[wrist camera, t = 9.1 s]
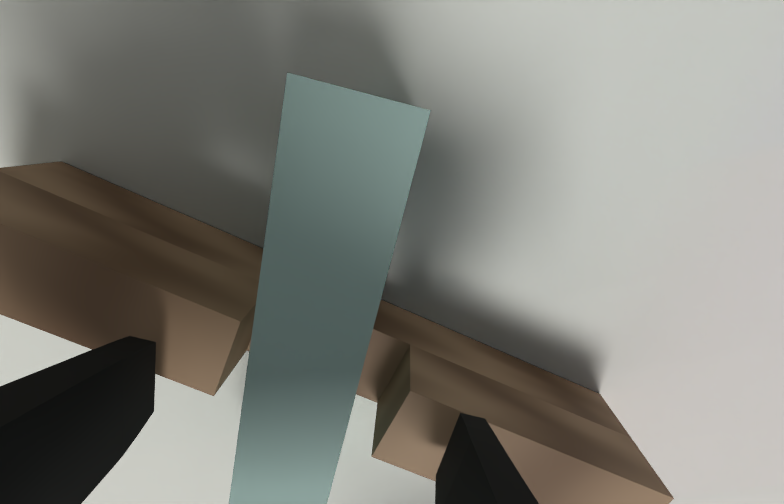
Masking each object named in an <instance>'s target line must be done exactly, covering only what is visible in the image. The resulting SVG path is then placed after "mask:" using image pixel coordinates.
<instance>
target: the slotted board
mask: <svg viewBox="0 0 784 504" xmlns="http://www.w3.org/2000/svg"><path fill="white" fill-rule="evenodd" d="M262 255H263V248H261V247H258V246H256V245H254V244H251V243H249V242H247V241H244V240H242V239H240V238H237V237H235V236H233V235H230V234H228V233H226V232H223V231H221V230H219V229H217V228H214V227H212V226H210V225H207V224H205V223H203V222H200V221H198V220H196V219H193V218H191V217H189V216H186V215H184V214H182V213H180V212H177V211H175V210H173V209H170V208H168V207H166V206H163V205H161V204H159V203H156V202H154V201H152V200H149V199H147V198H145V197H142V196H140V195H138V194H136V193H133V192H131V191H129V190H126V189H124V188H122V187H119V186H117V185H115V184H112V183H110V182H108V181H105V180H103V179H101V178H98V177H96V176H94V175H92V174H89V173H87V172H85V171H82V170H80V169H78V168H75V167H73V166H71V165H68V164H66V163H64V162H52V163H42V164H33V165H23V166H14V167H4V168H0V314H1V315H4V316H6V317H9V318H12V319H14V320H17V321H19V322H22V323H25V324H27V325H30V326H32V327H35V328H38V329H40V330H43V331H45V332H48V333H51V334H53V335H56V336H59V337H61V338H64V339H66V340H69V341H72V342H74V343H77V344H79V345H82V346H85V347H87V348H90V349H92V350H93V349H96V348H98V347H101V346H103V345H106V344H108V343H111V342H114V341H116V340H119V339H122V338H125V337H128V336H133V337H137V338H141V339H146V340H150V341H154V342H156V361H155V374H158V375H160V376H163V377H165V378H168V379H171V380H173V381H176V382H178V383H181V384H184V385H186V386H189V387H191V388H194V389H197V390H199V391H202V392H204V393H207V394H210V395H212V396H214V395H215V394H216V392H217V391H218V390H219V388H220V387H221V385H222V384H223V383H224V381H225V380H226V378H227V377H228V376H229V374H230V373H231V371H232V370H233V369H234V367H235V366H236V364H237V363H238V362H239V360H240V359H241V358H242V356H243V355H244V353H245V352H246V351H250V344H251V336H252V329H253V322H254V314H255V307H256V300H257V292H258V285H259V277H260V270H261V263H262ZM356 394H357V395H359V396H362V397H364V398H367V399H369V400H372V401H374V402H377V403H378V404H377V413H376V421H375V430H374V439H373V448H372V457H374V458H376V459H379V460H382V461H384V462H387V463H389V464H392V465H395V466H397V467H400V468H402V469H405V470H408V471H410V472H413V473H415V474H418V475H421V476H423V477H426V478H429V479H431V480H434V481H436V473H437V470H438V468H439V465H440V463H441V460H442V458H443V455H444V453H445V450H446V448H447V445H448V443H449V440H450V437H451V435H452V432H453V430H454V427H455V425H456V422H457V420H458V417H459V415H460V413H464V414H468V415H472V416H477V417H481V418H485V419H486V421H487V422H488V424H489V425H490V427H491V428H492V430H493V432H494V433H495V435H496V436H497V438H498V440H499V441H500V443H501V445H502V446H503V448H504V449H505V451H506V453H507V454H508V456H509V457H510V459H511V461H512V462H513V464H514V465H515V467H516V469H517V470H518V472H519V473H520V475H521V477H522V478H523V480H524V481H525V483H526V484H527V486H528V488H529V489H530V491H531V492H532V494H533V495H534V497H535V498H536V500H537V501H538V503H539V504H669V503H670V502H671V501H672V500H673V499H674V498H673V496H672V495H671V494H670V492H669V491H668V489H667V488H666V487H665V485H664V484H663V482H662V481H661V479H660V478H659V477H658V475H657V474H656V472H655V471H654V470H653V468H652V467H651V465H650V464H649V463H648V461H647V460H646V458H645V457H644V455H643V454H642V453H641V451H640V450H639V448H638V447H637V446H636V444H635V443H634V441H633V440H632V439H631V437H630V436H629V434H628V433H627V432H626V430H625V429H624V427H623V426H622V424H621V423H620V422H619V420H618V419H617V417H616V416H615V415H614V413H613V412H612V410H611V409H610V408H609V406H608V405H607V403H606V402H605V400H604V399H603V398H602V396H601V395H600V394H598V393H596V392H594V391H592V390H589V389H587V388H585V387H582V386H580V385H578V384H575V383H573V382H571V381H568V380H566V379H564V378H561V377H559V376H557V375H555V374H552V373H550V372H548V371H545V370H543V369H541V368H538V367H536V366H534V365H531V364H529V363H527V362H524V361H522V360H520V359H517V358H515V357H513V356H511V355H508V354H506V353H504V352H501V351H499V350H497V349H494V348H492V347H490V346H487V345H485V344H483V343H480V342H478V341H476V340H473V339H471V338H469V337H467V336H464V335H462V334H460V333H457V332H455V331H453V330H450V329H448V328H446V327H443V326H441V325H439V324H436V323H434V322H432V321H430V320H427V319H425V318H423V317H420V316H418V315H416V314H413V313H411V312H409V311H406V310H404V309H402V308H399V307H397V306H395V305H392V304H390V303H388V302H386V301H383V300H381V301H380V304H379V308H378V312H377V316H376V320H375V323H374V327H373V331H372V335H371V338H370V342H369V346H368V350H367V354H366V357H365V361H364V365H363V369H362V372H361V376H360V380H359V384H358V388H357V391H356Z"/></svg>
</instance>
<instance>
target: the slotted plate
mask: <svg viewBox="0 0 784 504" xmlns="http://www.w3.org/2000/svg"><path fill="white" fill-rule="evenodd" d="M430 112H431V110H427V109H423V108H420V107H416V106H412V105H408V104H405V103H401V102H397V101H393V100H390V99H386V98H382V97H378V96H374V95H371V94H367V93H363V92H359V91H356V90H352V89H348V88H344V87H341V86H337V85H333V84H329V83H325V82H322V81H318V80H314V79H310V78H307V77H303V76H299V75H295V74H292V73H288V72H287V78H286V85H285V93H284V100H283V107H282V115H281V122H280V130H279V137H278V144H277V152H276V159H275V167H274V174H273V181H272V189H271V196H270V203H269V211H268V218H267V226H266V233H265V240H264V248H263V255H262V263H261V270H260V277H259V285H258V292H257V300H256V307H255V314H254V322H253V329H252V336H251V344H250V351H249V359H248V366H247V373H246V381H245V388H244V396H243V403H242V410H241V418H240V425H239V433H238V440H237V447H236V455H235V462H234V469H233V477H232V484H231V492H230V499H229V504H327V501H328V497H329V494H330V490H331V486H332V482H333V478H334V475H335V471H336V467H337V463H338V459H339V456H340V452H341V448H342V444H343V441H344V437H345V433H346V429H347V425H348V422H349V418H350V414H351V410H352V407H353V403H354V399H355V395H356V391H357V388H358V384H359V380H360V376H361V372H362V369H363V365H364V361H365V357H366V354H367V350H368V346H369V342H370V338H371V335H372V331H373V327H374V323H375V320H376V316H377V312H378V308H379V304H380V301H381V297H382V293H383V289H384V286H385V282H386V278H387V274H388V270H389V267H390V263H391V259H392V255H393V251H394V248H395V244H396V240H397V236H398V233H399V229H400V225H401V221H402V217H403V214H404V210H405V206H406V202H407V199H408V195H409V191H410V187H411V183H412V180H413V176H414V172H415V168H416V164H417V161H418V157H419V153H420V149H421V146H422V142H423V138H424V134H425V130H426V127H427V123H428V119H429V115H430Z"/></svg>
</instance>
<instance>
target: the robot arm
mask: <svg viewBox="0 0 784 504" xmlns="http://www.w3.org/2000/svg"><path fill="white" fill-rule="evenodd" d="M155 361H156V342H154V341H150V340H146V339H141V338H137V337H133V336H128V337H125V338H122V339H119V340H116V341H114V342H111V343H108V344H106V345H103V346H101V347H98V348H96V349H93V350H91V351H88V352H86V353H83V354H81V355H78V356H76V357H73V358H71V359H68V360H66V361H63V362H61V363H58V364H56V365H53V366H51V367H48V368H46V369H43V370H41V371H38V372H36V373H33V374H31V375H28V376H26V377H23V378H21V379H18V380H15V381H13V382H10V383H8V384H5V385H3V386H0V504H81V503H82V502H83V501H84V500H85V499H86V498H87V496H88V495H89V494H90V493H91V492H92V491H93V490H94V488H95V487H96V486H97V485H98V484H99V483H100V481H101V480H102V479H103V478H104V477H105V476H106V475H107V473H108V472H109V471H110V470H111V469H112V468H113V467H114V465H115V464H116V463H117V462H118V461H119V459H120V458H121V457H122V456H123V455H124V453H125V452H126V450H127V449H128V448H129V446H130V445H131V444H132V442H133V441H134V439H135V438H136V437H137V435H138V434H139V432H140V431H141V429H142V428H143V427H144V425H145V424H146V422H147V421H148V419H149V418H150V416H151V415H152V413H153V412H154V391H155ZM435 504H539V503H538V501H537V500H536V498H535V497H534V495H533V494H532V492H531V491H530V489H529V488H528V486H527V484H526V483H525V481H524V480H523V478H522V477H521V475H520V473H519V472H518V470H517V469H516V467H515V465H514V464H513V462H512V461H511V459H510V457H509V456H508V454H507V453H506V451H505V449H504V448H503V446H502V445H501V443H500V441H499V440H498V438H497V436H496V435H495V433H494V432H493V430H492V428H491V427H490V425H489V424H488V422H487V421H486V419H485V418H481V417H477V416H472V415H468V414H464V413H460V415H459V417H458V420H457V422H456V425H455V427H454V430H453V432H452V435H451V437H450V440H449V443H448V445H447V448H446V450H445V453H444V455H443V458H442V460H441V463H440V465H439V468H438V470H437V473H436V495H435Z"/></svg>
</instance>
